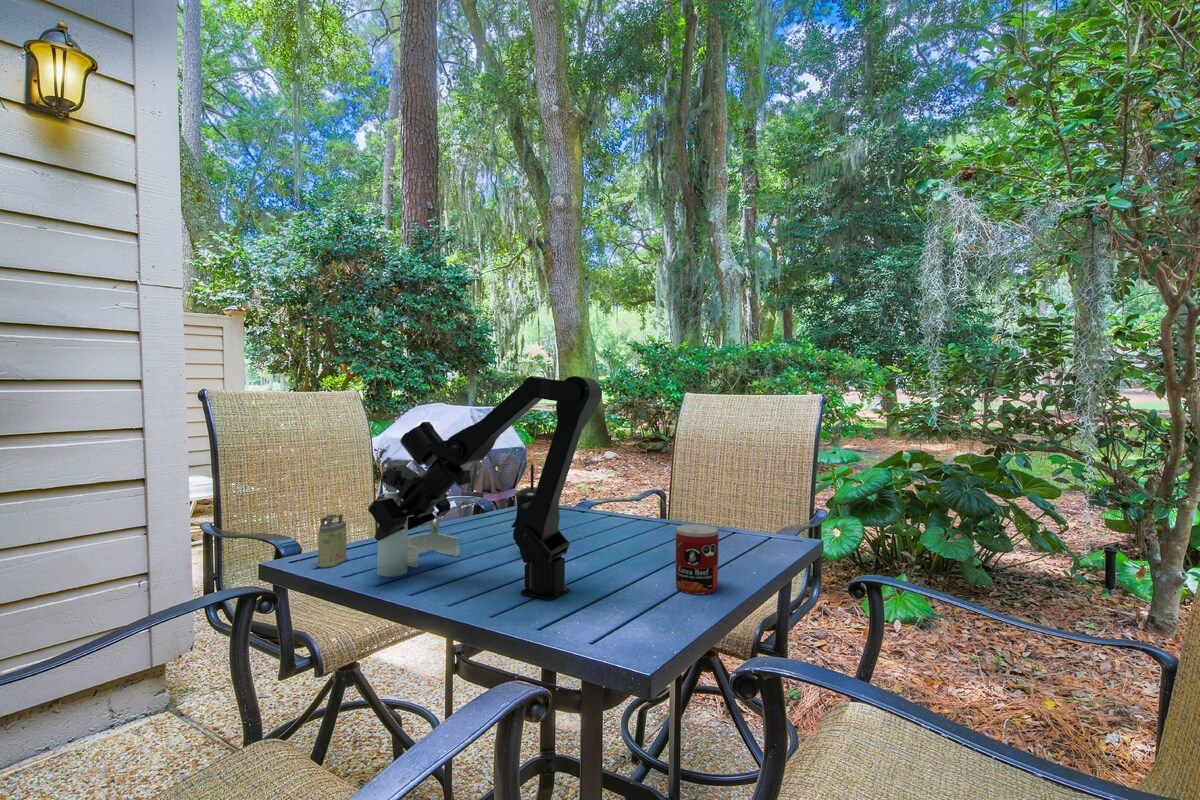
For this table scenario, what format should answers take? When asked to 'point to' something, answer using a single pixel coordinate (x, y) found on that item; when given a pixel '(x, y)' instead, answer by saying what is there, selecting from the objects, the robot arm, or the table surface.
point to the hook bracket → (431, 544)
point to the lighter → (332, 541)
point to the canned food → (696, 558)
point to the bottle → (393, 549)
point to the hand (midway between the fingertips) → (387, 535)
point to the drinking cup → (526, 492)
